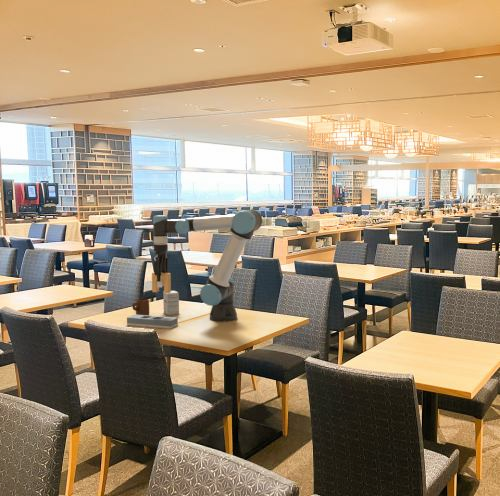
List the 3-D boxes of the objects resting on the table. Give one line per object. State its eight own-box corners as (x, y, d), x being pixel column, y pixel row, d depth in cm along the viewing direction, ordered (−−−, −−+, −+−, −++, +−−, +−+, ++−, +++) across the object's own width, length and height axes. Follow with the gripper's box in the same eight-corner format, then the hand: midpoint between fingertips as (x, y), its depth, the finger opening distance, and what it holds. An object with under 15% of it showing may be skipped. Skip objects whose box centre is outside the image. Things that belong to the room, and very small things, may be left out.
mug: (138, 319, 316) (138, 302, 315) (127, 318, 319) (127, 301, 318) (152, 315, 326) (151, 299, 325) (141, 313, 330) (141, 297, 329)
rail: (177, 325, 301) (177, 317, 301) (170, 328, 294) (170, 320, 293) (135, 321, 310) (134, 314, 310) (127, 324, 303) (126, 317, 302)
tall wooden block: (171, 292, 311) (170, 273, 310) (168, 293, 308) (167, 273, 307) (155, 291, 314) (154, 272, 313) (152, 292, 312) (151, 273, 311)
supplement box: (163, 312, 332) (162, 291, 331) (175, 311, 335) (175, 290, 334) (167, 315, 325) (166, 293, 324) (179, 313, 328) (179, 292, 327)
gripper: (162, 242, 317) (163, 284, 320) (146, 245, 302) (147, 288, 305) (174, 242, 314) (174, 284, 317) (158, 245, 300) (159, 289, 302)
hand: (161, 286), depth 311 cm, fingers closed on tall wooden block, 3 cm apart
